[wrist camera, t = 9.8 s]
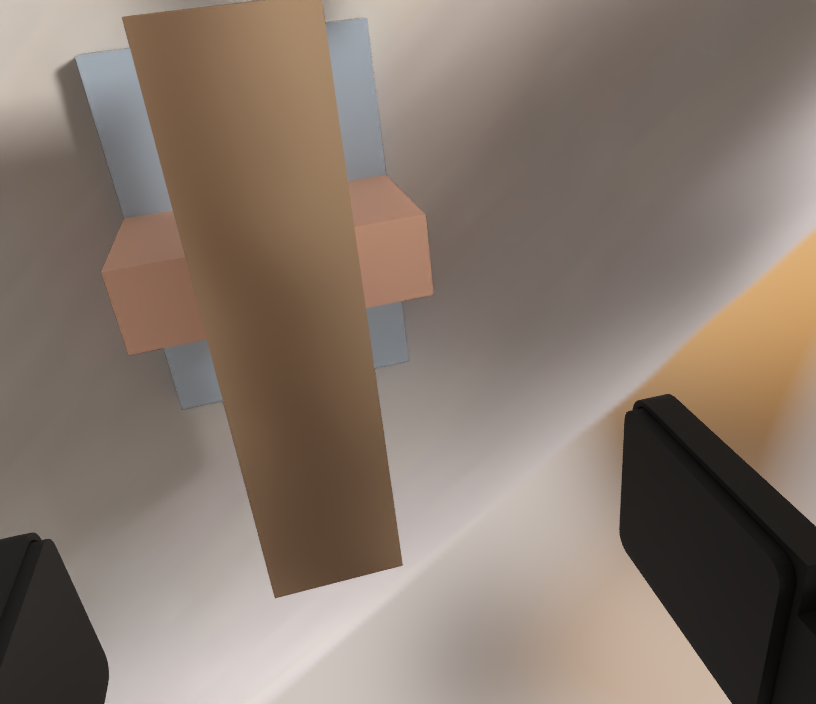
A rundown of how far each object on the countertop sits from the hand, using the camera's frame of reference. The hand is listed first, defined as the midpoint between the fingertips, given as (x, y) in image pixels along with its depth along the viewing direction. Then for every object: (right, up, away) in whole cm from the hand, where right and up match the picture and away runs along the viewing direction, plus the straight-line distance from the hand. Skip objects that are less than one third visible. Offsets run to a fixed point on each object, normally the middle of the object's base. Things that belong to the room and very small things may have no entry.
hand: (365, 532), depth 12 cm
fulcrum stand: (-5, +8, +17) cm, 19 cm away
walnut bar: (-3, +5, +11) cm, 12 cm away
